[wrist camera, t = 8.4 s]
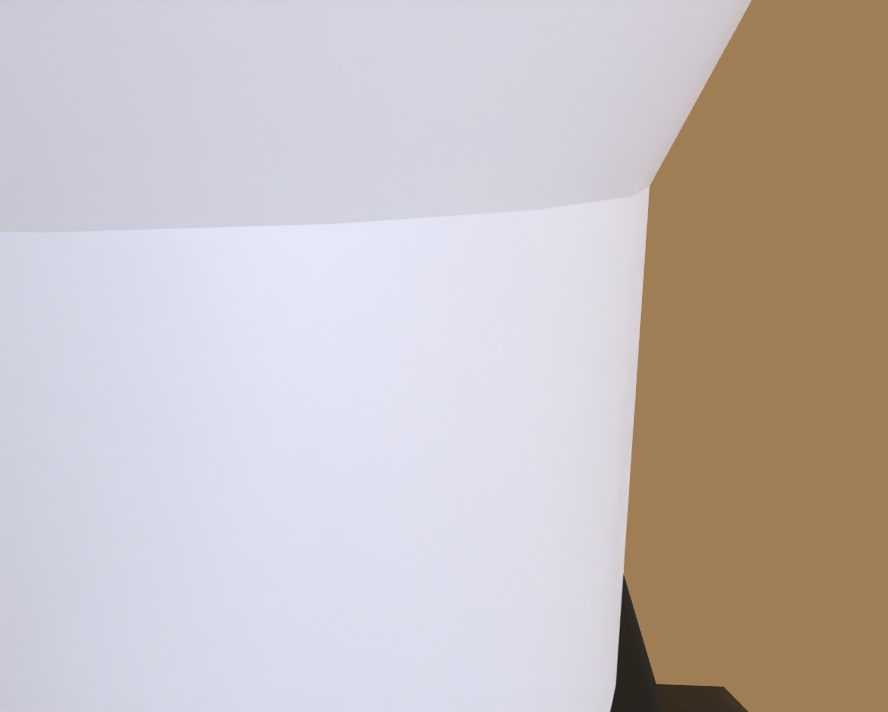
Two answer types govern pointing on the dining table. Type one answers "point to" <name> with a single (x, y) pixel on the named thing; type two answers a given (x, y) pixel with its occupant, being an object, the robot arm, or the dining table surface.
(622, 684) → the robot arm
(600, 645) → the chalice
